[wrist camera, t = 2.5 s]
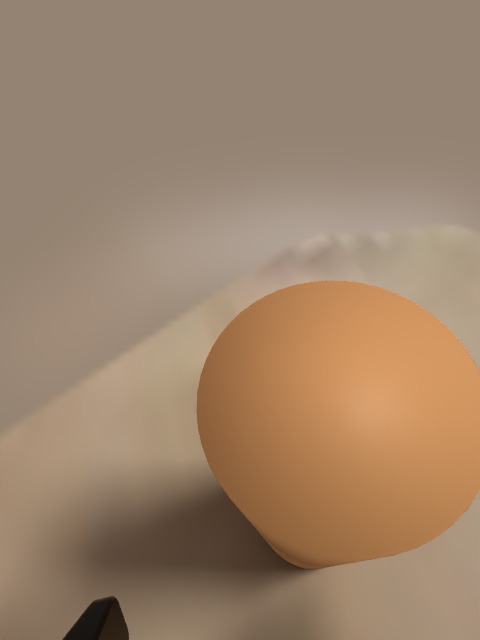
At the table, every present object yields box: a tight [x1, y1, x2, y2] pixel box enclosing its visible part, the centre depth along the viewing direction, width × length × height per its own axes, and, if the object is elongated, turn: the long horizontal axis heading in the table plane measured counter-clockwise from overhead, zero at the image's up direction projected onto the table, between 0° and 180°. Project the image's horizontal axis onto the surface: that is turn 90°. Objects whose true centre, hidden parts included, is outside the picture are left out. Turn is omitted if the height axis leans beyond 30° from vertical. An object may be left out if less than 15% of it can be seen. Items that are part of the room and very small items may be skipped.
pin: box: [197, 281, 480, 569], centre depth 11 cm, size 4×4×13 cm
